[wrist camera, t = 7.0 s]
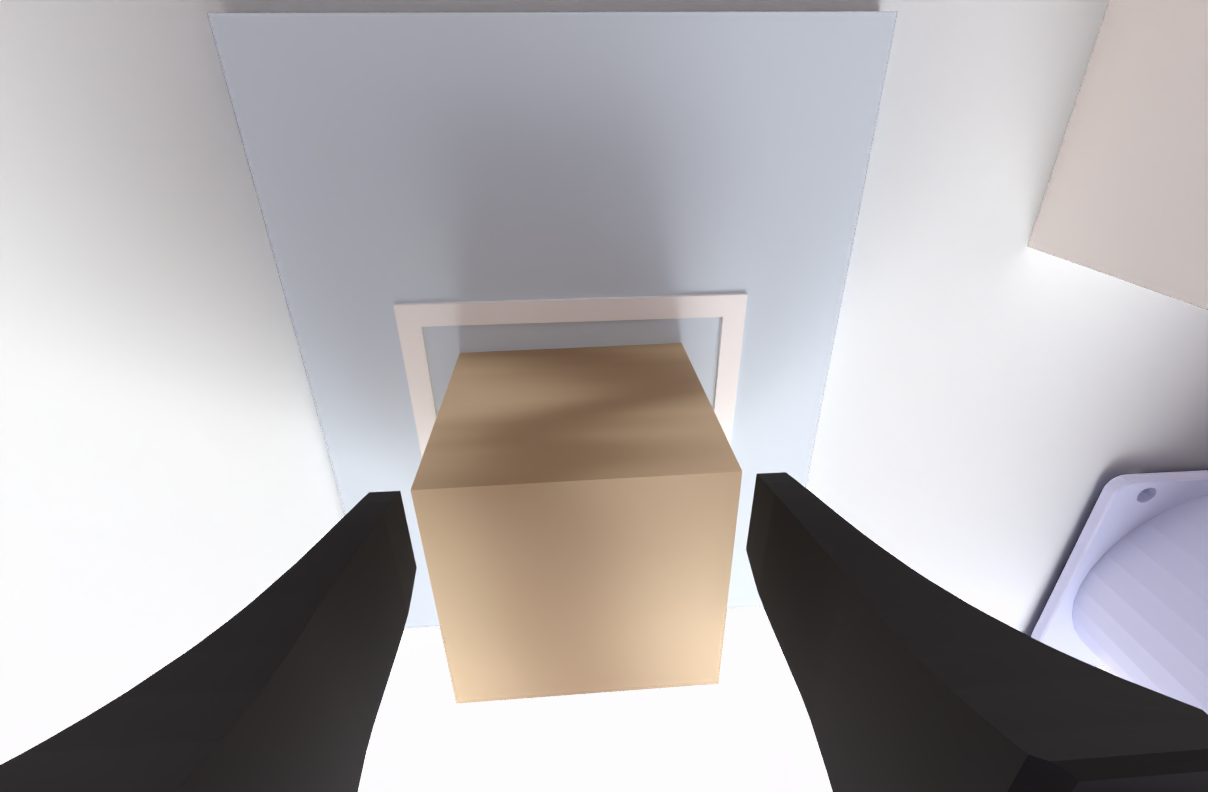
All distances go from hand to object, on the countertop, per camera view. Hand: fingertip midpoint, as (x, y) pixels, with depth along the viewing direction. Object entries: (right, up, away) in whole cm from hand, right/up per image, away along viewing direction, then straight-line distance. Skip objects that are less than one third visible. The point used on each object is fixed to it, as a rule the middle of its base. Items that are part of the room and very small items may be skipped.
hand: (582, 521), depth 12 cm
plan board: (0, +3, +2) cm, 4 cm away
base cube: (0, +1, +2) cm, 3 cm away
